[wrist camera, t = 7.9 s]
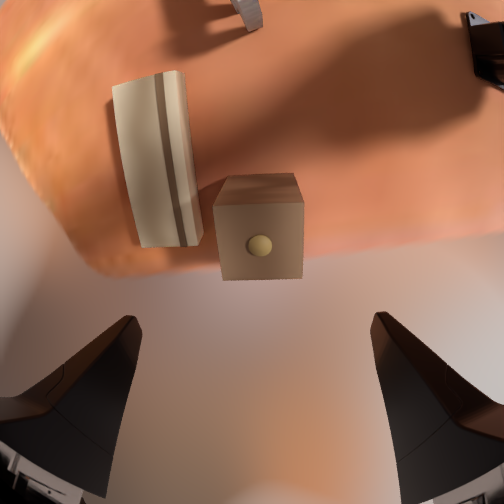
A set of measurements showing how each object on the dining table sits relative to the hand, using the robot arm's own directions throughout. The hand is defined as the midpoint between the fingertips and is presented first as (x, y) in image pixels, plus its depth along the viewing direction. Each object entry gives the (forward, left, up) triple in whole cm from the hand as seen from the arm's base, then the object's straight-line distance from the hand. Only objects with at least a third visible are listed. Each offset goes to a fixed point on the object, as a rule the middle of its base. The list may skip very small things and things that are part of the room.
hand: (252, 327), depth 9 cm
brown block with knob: (0, 0, -12) cm, 12 cm away
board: (+7, -4, -12) cm, 14 cm away
